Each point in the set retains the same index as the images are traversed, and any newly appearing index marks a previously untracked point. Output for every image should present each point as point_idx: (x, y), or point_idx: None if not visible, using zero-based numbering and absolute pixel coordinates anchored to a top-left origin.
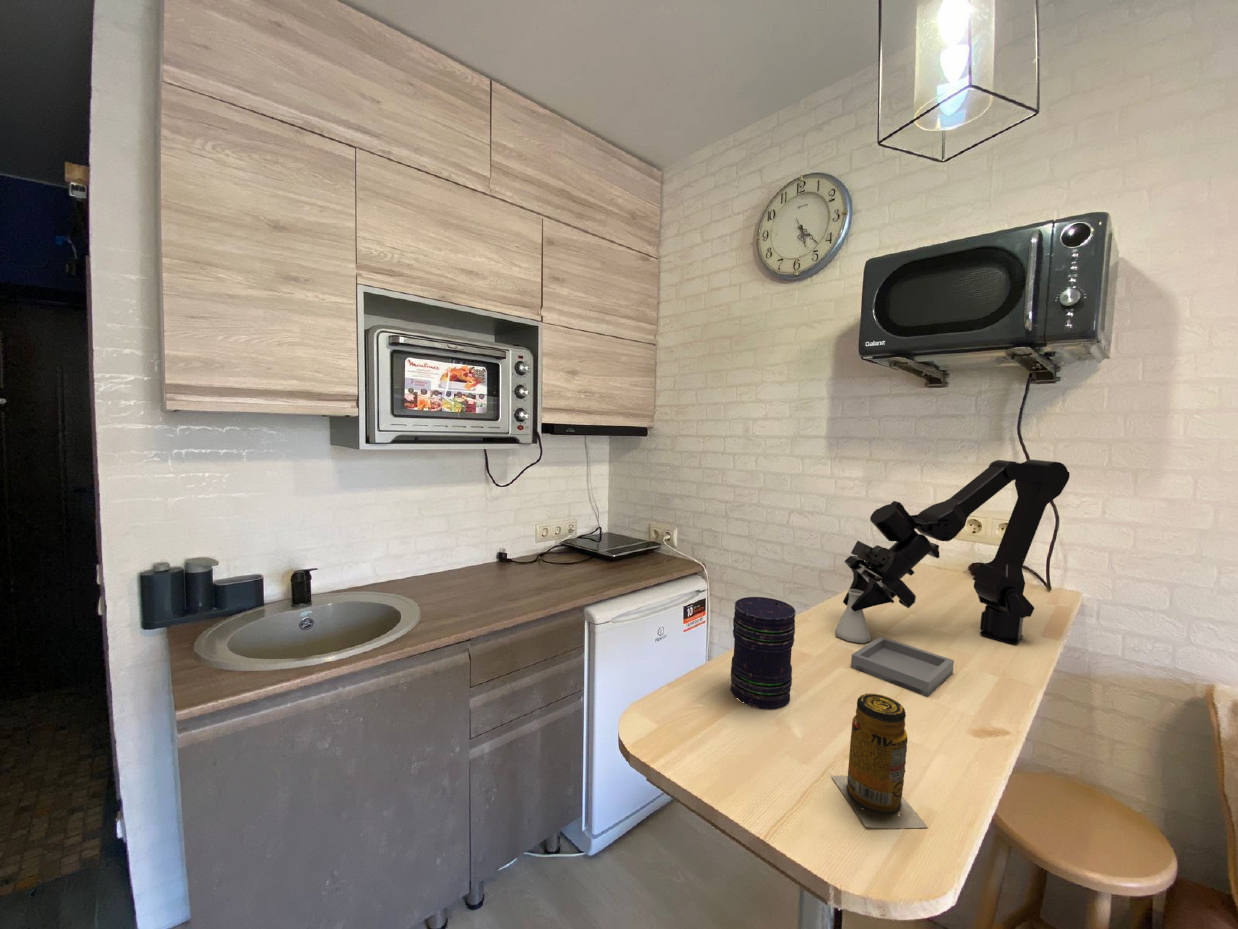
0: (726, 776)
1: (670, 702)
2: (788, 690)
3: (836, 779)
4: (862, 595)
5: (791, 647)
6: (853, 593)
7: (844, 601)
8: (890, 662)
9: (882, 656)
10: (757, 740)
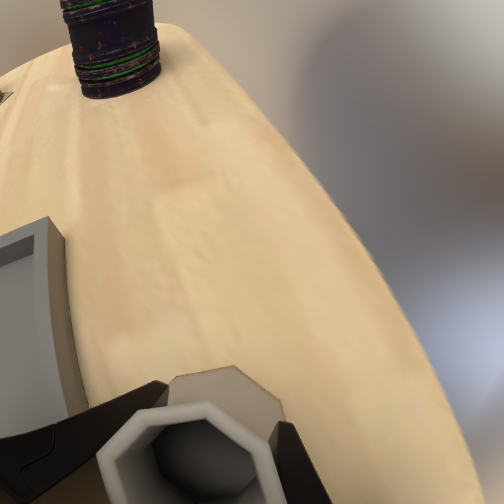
0: (71, 49)
1: (166, 34)
2: (80, 78)
3: (9, 93)
4: (71, 441)
5: (68, 25)
6: (148, 409)
7: (278, 425)
8: (7, 339)
9: (33, 356)
10: (74, 64)
